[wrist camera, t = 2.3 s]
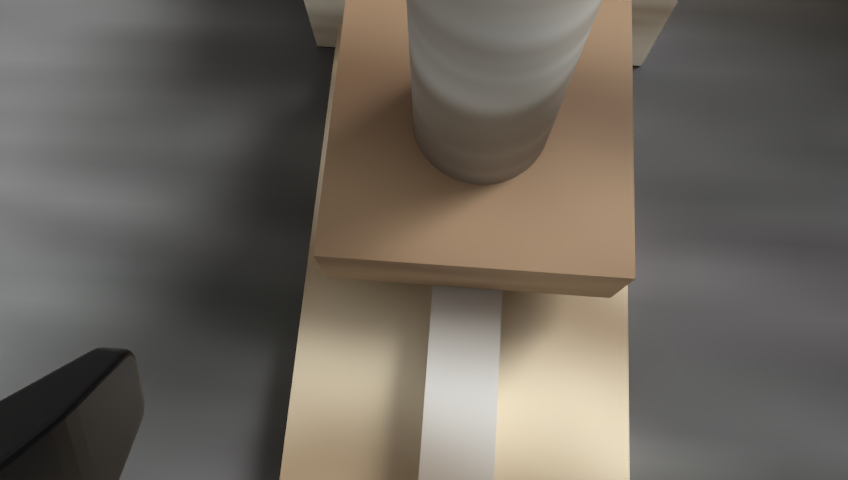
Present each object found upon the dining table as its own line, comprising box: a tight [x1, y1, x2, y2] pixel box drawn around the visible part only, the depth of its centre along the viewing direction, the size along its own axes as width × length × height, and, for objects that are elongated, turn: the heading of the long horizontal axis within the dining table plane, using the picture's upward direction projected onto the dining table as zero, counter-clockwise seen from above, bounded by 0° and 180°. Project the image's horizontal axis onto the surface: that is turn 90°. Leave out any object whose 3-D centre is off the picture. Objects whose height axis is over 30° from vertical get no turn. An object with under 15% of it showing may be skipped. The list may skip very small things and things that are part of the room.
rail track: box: [280, 0, 679, 480], centre depth 18 cm, size 32×12×8 cm, turn 176°
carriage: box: [313, 0, 635, 298], centre depth 15 cm, size 8×8×10 cm
